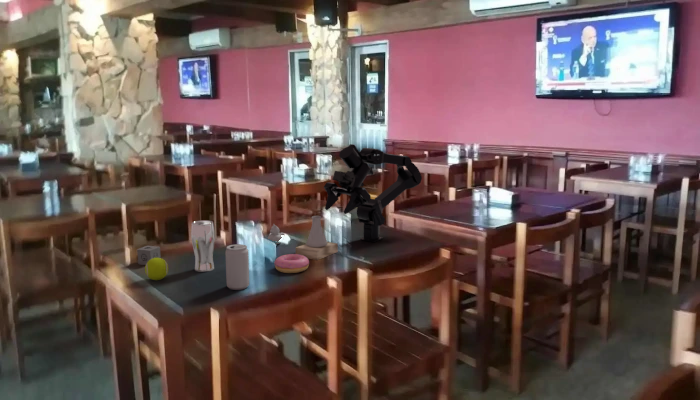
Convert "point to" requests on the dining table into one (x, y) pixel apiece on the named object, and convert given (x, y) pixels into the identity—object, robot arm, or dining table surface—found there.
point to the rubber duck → (275, 234)
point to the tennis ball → (156, 268)
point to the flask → (316, 234)
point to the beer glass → (203, 245)
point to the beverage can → (237, 266)
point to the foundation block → (317, 251)
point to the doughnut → (291, 263)
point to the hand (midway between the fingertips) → (335, 211)
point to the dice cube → (148, 254)
